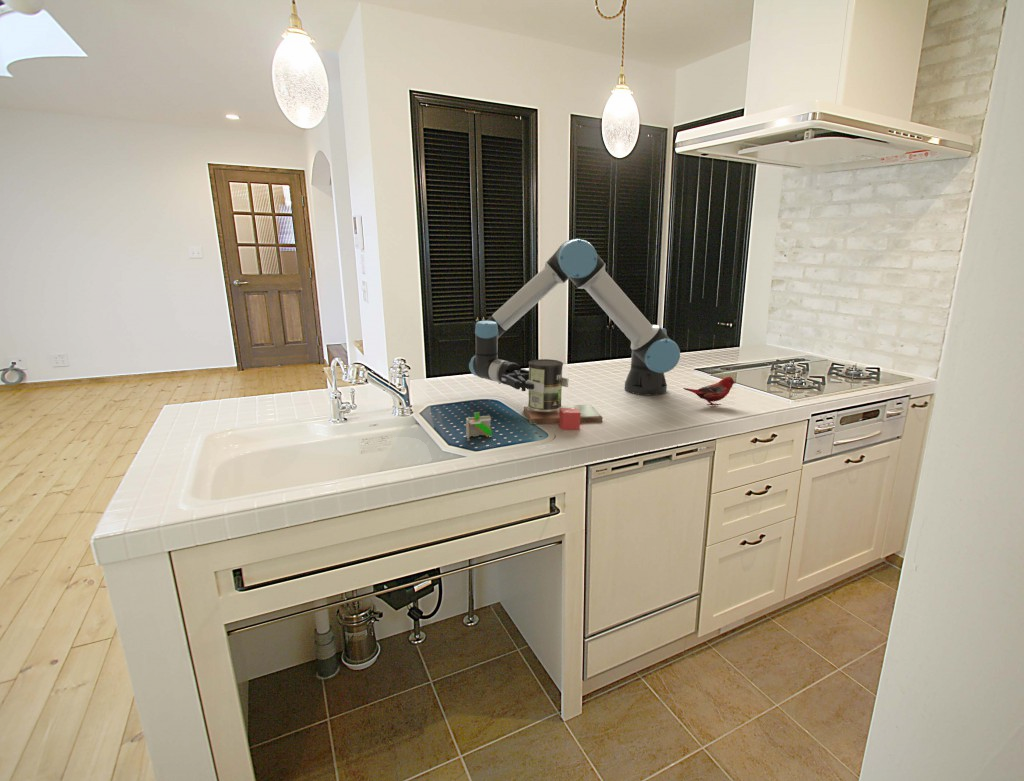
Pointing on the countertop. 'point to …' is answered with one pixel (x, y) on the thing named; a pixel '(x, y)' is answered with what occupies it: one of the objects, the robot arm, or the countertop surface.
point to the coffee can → (546, 385)
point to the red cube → (569, 418)
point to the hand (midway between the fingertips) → (555, 385)
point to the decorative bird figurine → (714, 390)
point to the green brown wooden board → (553, 417)
